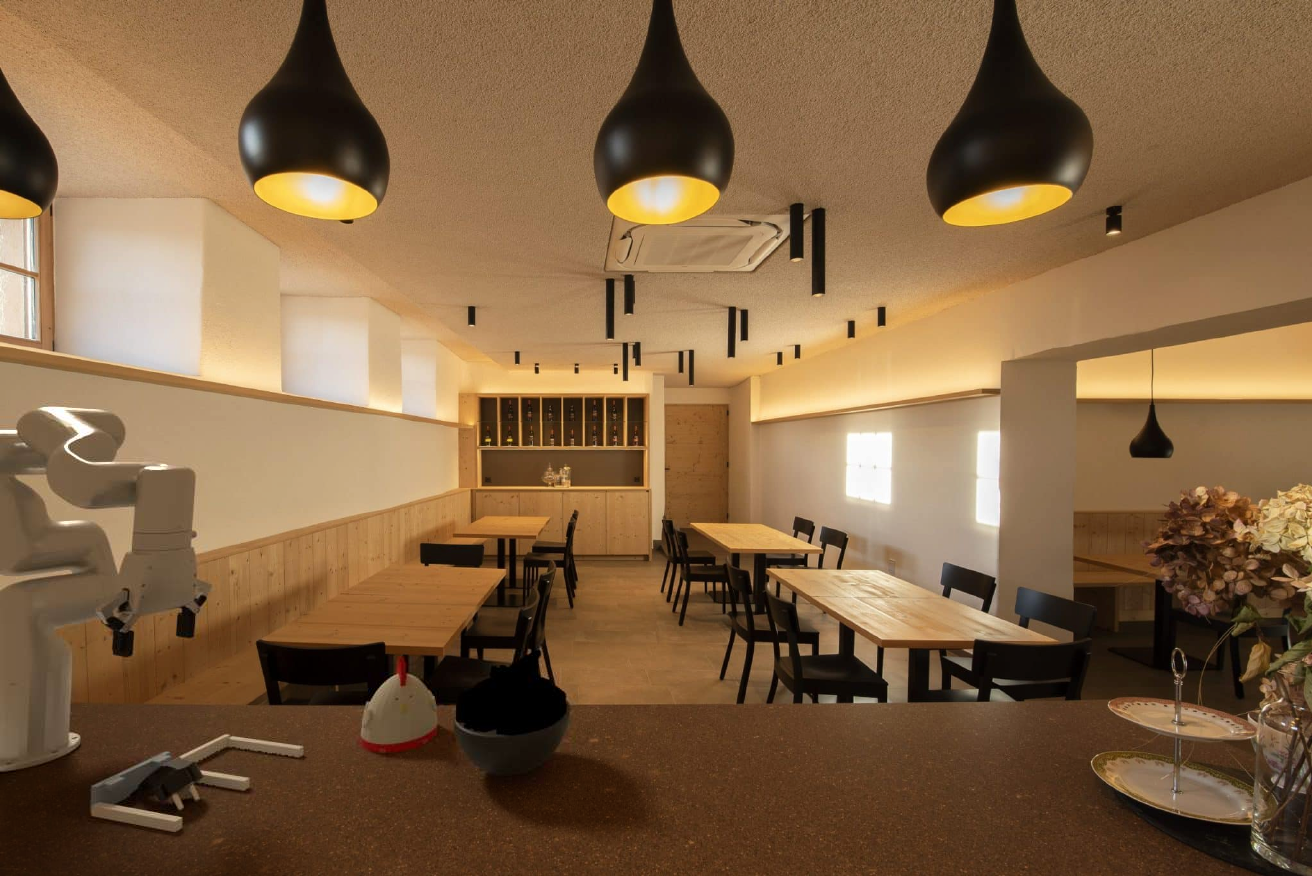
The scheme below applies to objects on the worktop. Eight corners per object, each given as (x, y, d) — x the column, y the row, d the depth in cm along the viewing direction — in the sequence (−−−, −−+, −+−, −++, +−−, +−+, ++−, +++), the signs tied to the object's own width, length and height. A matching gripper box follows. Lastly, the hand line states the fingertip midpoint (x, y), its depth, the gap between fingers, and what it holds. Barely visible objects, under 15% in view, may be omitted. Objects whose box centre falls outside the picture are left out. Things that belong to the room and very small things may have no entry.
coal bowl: (481, 817, 90) (483, 691, 91) (435, 763, 106) (437, 656, 106) (591, 773, 103) (593, 663, 104) (536, 731, 118) (537, 636, 119)
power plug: (148, 780, 98) (198, 744, 96) (168, 822, 97) (219, 787, 95) (110, 800, 92) (162, 762, 90) (131, 844, 91) (184, 807, 89)
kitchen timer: (362, 760, 107) (364, 675, 107) (357, 729, 119) (359, 653, 119) (443, 742, 114) (445, 663, 114) (431, 714, 126) (432, 643, 126)
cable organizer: (86, 814, 90) (87, 788, 90) (227, 743, 112) (228, 722, 112) (175, 832, 86) (175, 804, 86) (303, 754, 108) (303, 732, 108)
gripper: (196, 532, 107) (189, 628, 107) (83, 547, 90) (75, 660, 90) (229, 536, 105) (223, 633, 105) (121, 552, 88) (113, 667, 88)
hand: (155, 645), depth 97 cm, fingers open, 9 cm apart
